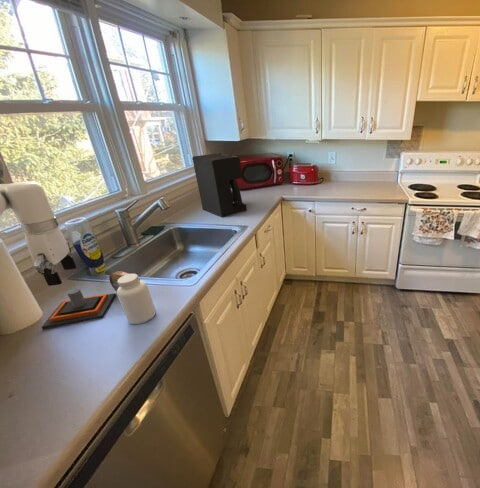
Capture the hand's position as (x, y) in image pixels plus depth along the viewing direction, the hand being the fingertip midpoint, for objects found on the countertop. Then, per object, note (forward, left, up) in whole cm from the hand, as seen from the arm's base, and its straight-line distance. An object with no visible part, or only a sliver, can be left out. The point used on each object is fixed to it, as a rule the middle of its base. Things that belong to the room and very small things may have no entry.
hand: (63, 276), depth 88 cm
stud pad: (+1, 0, -13) cm, 13 cm away
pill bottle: (+20, -10, -14) cm, 27 cm away
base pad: (0, 0, -14) cm, 14 cm away
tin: (+13, +6, -14) cm, 20 cm away
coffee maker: (+48, +93, -14) cm, 106 cm away
